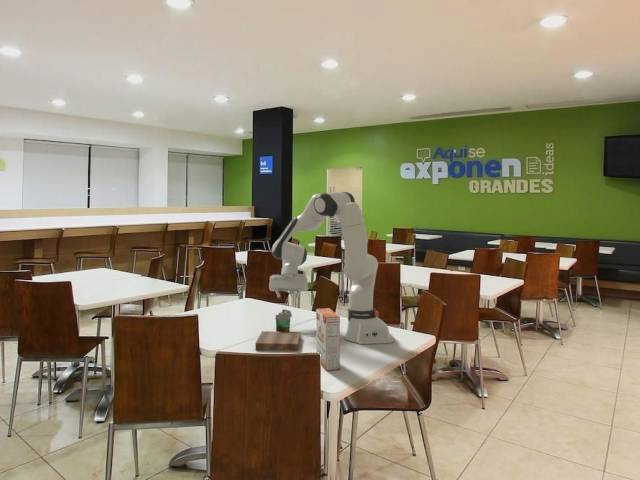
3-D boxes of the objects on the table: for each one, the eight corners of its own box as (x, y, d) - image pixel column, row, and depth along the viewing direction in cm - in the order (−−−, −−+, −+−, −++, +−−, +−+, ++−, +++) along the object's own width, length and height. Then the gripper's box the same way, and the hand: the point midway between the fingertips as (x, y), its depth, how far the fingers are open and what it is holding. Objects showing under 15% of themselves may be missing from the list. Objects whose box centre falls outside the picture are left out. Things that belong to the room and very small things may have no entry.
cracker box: (315, 359, 188) (315, 308, 186) (329, 357, 189) (330, 307, 188) (324, 371, 174) (325, 316, 173) (340, 370, 176) (340, 315, 174)
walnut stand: (300, 338, 216) (300, 331, 216) (297, 350, 198) (297, 343, 198) (261, 337, 217) (261, 331, 216) (255, 350, 199) (255, 343, 198)
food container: (287, 336, 219) (288, 315, 218) (275, 335, 220) (275, 315, 219) (294, 329, 231) (294, 309, 230) (282, 328, 232) (282, 309, 231)
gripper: (269, 271, 243) (266, 293, 234) (308, 271, 242) (307, 293, 233) (270, 278, 247) (268, 300, 239) (308, 278, 247) (307, 300, 238)
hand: (287, 297), depth 236 cm, fingers open, 8 cm apart
